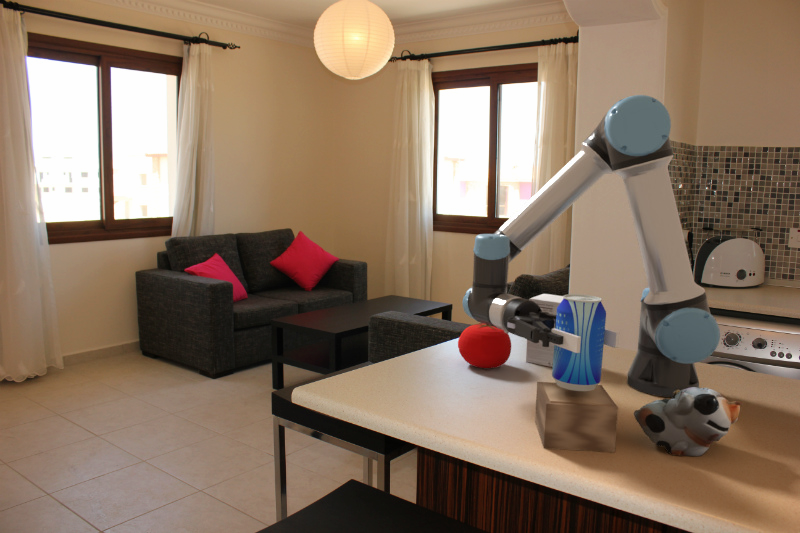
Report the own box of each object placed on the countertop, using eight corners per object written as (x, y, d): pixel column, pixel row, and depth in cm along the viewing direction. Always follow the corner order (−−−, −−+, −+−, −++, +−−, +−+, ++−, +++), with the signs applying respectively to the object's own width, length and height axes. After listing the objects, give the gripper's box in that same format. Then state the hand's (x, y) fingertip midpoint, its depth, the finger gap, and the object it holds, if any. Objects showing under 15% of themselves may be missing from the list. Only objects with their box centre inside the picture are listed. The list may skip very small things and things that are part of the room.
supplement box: (539, 354, 167) (543, 292, 165) (572, 360, 162) (576, 297, 160) (524, 362, 160) (528, 297, 158) (559, 369, 154) (563, 302, 152)
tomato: (499, 376, 147) (501, 331, 146) (450, 367, 154) (451, 323, 152) (517, 364, 157) (520, 322, 156) (470, 356, 164) (472, 315, 162)
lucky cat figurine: (683, 425, 119) (728, 372, 113) (718, 475, 109) (769, 419, 103) (620, 409, 115) (663, 352, 109) (650, 460, 104) (700, 400, 98)
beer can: (602, 394, 107) (610, 303, 105) (552, 389, 108) (559, 299, 106) (597, 380, 115) (604, 295, 113) (550, 375, 116) (556, 291, 114)
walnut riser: (598, 425, 118) (601, 383, 117) (614, 452, 106) (618, 406, 105) (534, 421, 119) (537, 380, 118) (543, 448, 107) (546, 402, 106)
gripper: (555, 329, 131) (640, 357, 111) (472, 338, 122) (549, 370, 102) (557, 294, 130) (643, 316, 110) (474, 300, 121) (552, 325, 101)
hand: (598, 342), depth 106 cm, fingers closed on beer can, 8 cm apart
